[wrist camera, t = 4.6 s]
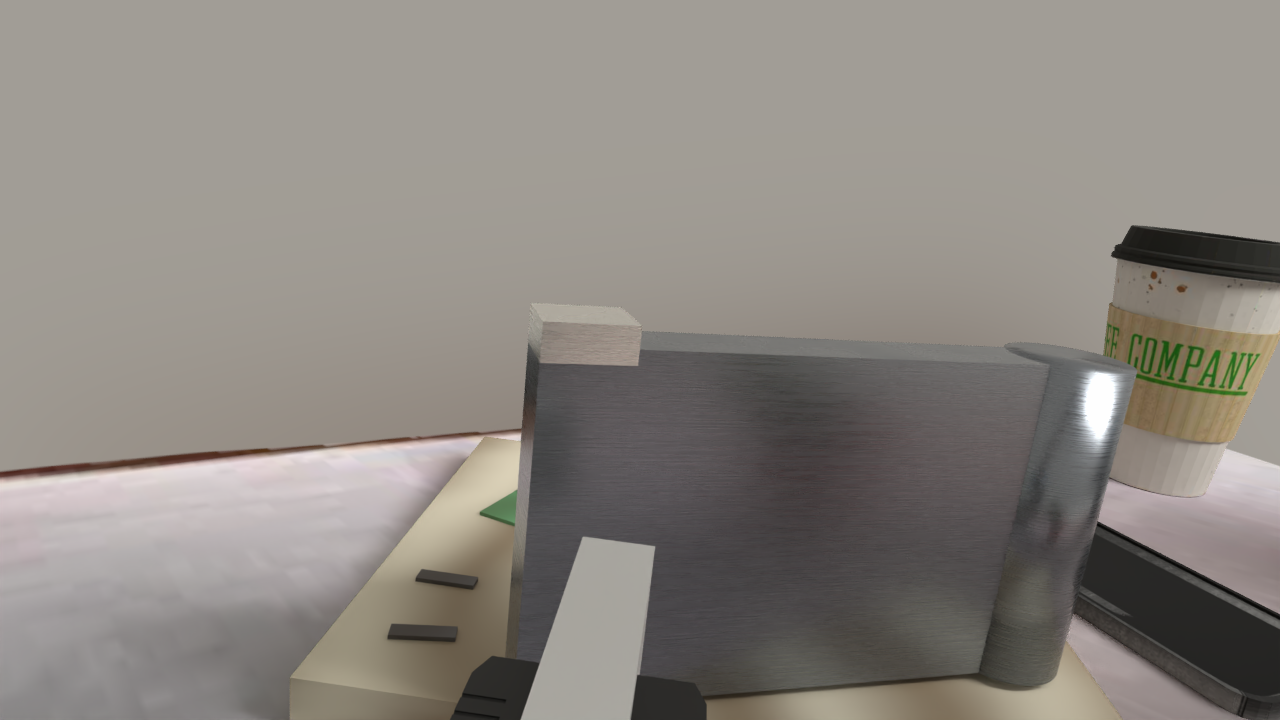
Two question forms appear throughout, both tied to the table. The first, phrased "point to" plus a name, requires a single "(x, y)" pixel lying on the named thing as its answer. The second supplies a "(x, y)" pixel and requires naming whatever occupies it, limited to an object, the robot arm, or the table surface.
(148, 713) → the table surface
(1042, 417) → the grey flat rounded-edge slab
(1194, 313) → the coffee cup
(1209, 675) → the phone
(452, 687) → the board
